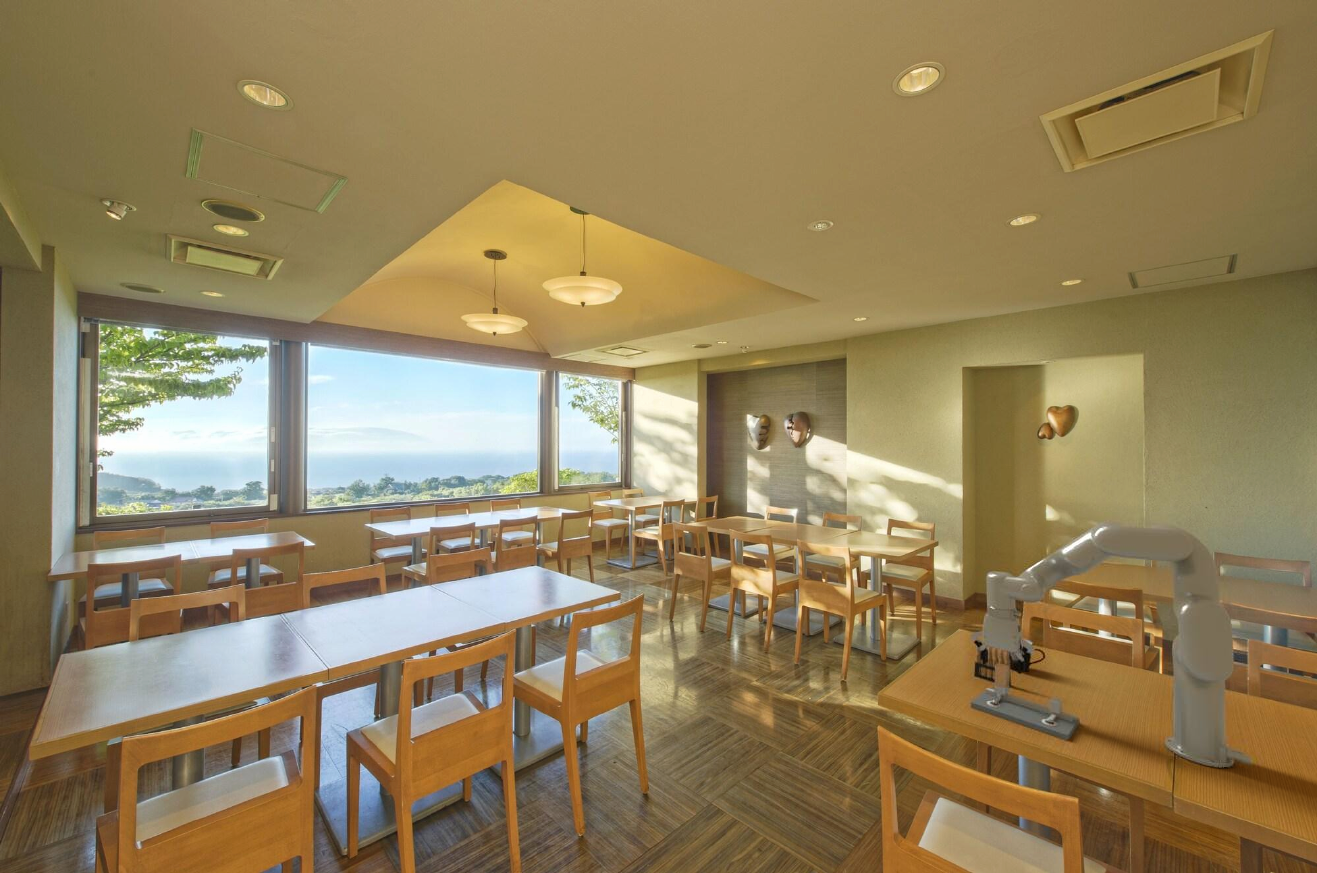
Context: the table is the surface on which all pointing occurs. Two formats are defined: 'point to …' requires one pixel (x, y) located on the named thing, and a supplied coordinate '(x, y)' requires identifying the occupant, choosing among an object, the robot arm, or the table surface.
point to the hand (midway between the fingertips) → (1002, 667)
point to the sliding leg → (1001, 682)
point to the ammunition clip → (990, 664)
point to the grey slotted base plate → (1029, 713)
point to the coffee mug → (1014, 659)
